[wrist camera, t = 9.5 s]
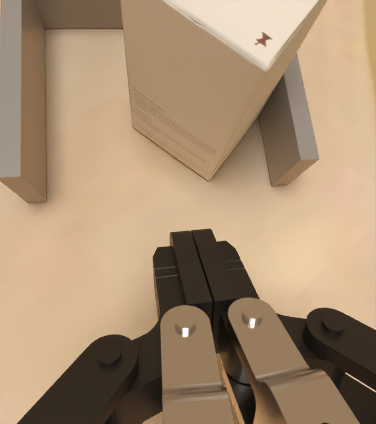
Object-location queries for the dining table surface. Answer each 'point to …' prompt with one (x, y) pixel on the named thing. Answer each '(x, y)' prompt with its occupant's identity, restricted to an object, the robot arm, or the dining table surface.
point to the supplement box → (207, 69)
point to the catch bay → (36, 102)
